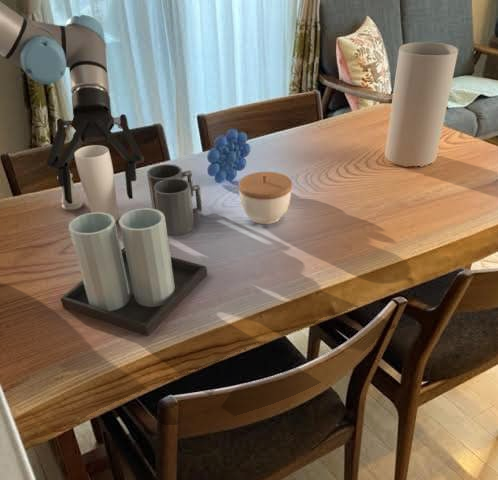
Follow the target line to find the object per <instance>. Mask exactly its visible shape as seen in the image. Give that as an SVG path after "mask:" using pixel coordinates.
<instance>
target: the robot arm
mask: <svg viewBox="0 0 498 480" xmlns="http://www.w3.org/2000/svg"><path fill="white" fill-rule="evenodd" d="M106 48H107V44H106V39H105V33H104V29H103V26H102V24H101V23H100V22H99V21H98V20H97V19H96V18H94V17H92V16H90V15H86V14H81V15H80V16H78V15H73V16H70V18H68V20H67V21H66V23H65V25H58V24H53V23H47V22H42V21H37V20H32V19H27V18H24V17H23V16H21V14H19V13H17V12H16V11H15V10H13V9H12V8H10V7H9V6H8V5H6V4H4V3H3V2H2V1H0V56H2V57H3V58H4V59H6V60H8V62H10V63H12V64H13V65H15V66H17V67H18V68H20V69H21V70H23V72H24V74H26V75H27V76H28V77H29V78H30V79H31V80H33V81H34V82H36V83H38V84H42V85H53V84H55V83H57V82H59V81H60V80H61V79H62V78H63V76H65V73H66V70H67V68H68V70H69V81H70V92H71V107H72V118H71V120H63V118H58V119H57V120H56V129H57V130H56V133H55V135H54V138H53V142H52V144H51V148H50V150H49V154H48V157H47V159H46V164H47V165H48V166H49V168H50V169H51V170H52V171H53V170H54V171H57V177H58V178H57V181H58V182H57V183H58V184H59V185H60V187H61V188H62V187H64V194H65V200H66V201H67V202H68V204H71V203H72V193H71V180H70V173H71V171H70V170H69V169H68V168H69V166H70V165H71V163H72V162H73V159H75V156H74V153H75V151H76V150H78V149H80V148H82V147H81V146H83V145H84V144H85V142H86V141H87V142H93V141H98V142H100V141H101V142H103V141H104V140H105V139H106V141H108V143H109V144H111V146H112V147H113V148H114V149H115V150H116V152H118V154H119V155H120V156H121V157H122V158H123V159H124V160H125V162H124V163H123V164H124V175H125V186H126V195H127V197H128V199H129V200H131V199H133V198H134V195H133V194H134V193H133V186H132V182H136V181H137V169H136V166H137V165H138V164H143V163H144V162H145V159H144V158H145V157H144V155H143V153H142V151H141V148H139V145H138V143H137V141H136V139H135V138H134V136H133V133H132V132H131V130H130V127H129V121H128V118H127V115H126V114H124V113H122V114H120V116H116V117H113V115H112V107H111V97H110V84H109V75H108V64H107V63H108V62H107V51H106V50H107V49H106ZM115 125H116V126H117V128H118V129H119V130H122V132H123V134H124V137H125V138H126V140H127V142H128V144H129V146H130V148H131V151H132V153H133V155H132V154H130V152H129V151H128V149H126V148H125V146H124V145H123V144H122V143H121V142H120V141H119V139H118V138H117V137H116V136H115V135H114V133H113V132H112V130H113V128H114V127H115ZM71 128H73V129H74V130H75V131H74V132H73V134H72V138H71V139H70V141H69V143H68V144H67V146H66V148H65V149H64V146H65V143H66V139H67V134H68V133H70V130H71ZM63 149H64V151H63ZM62 151H63V153H62ZM69 171H70V172H69Z"/></svg>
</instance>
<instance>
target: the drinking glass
mask: <svg viewBox="0 0 498 480" xmlns="http://www.w3.org/2000/svg"><path fill="white" fill-rule="evenodd" d="M74 161H75V165H76V170H77V173H78V178H79V180H80V183H81V186H82V188H83V189H82V190H83V192H84V194H85V198H86V201H87V204H88V207H89V210H90V213H93V212H103V213H107V214H110V215H112V216H113V217H114V219H115V223H116V222H117V221H119V219H120V213H119V209H118V202H117V201H118V200H117V193H116V182H115V175H114V173H115V172H114V166H113V161H112V157H111V153H110V148H109V147H107V146H105V145H100V144H92V145H86V146H82V147H80V148H79V149H78V150H76V151H75V153H74Z"/></svg>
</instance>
